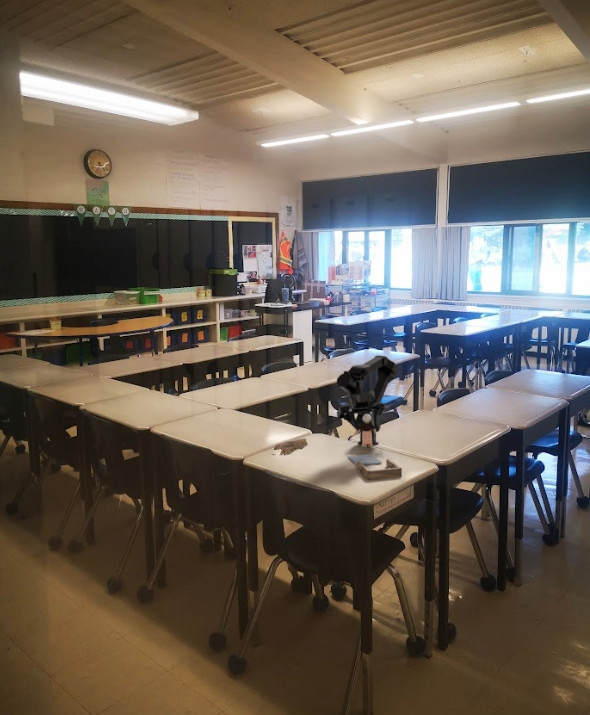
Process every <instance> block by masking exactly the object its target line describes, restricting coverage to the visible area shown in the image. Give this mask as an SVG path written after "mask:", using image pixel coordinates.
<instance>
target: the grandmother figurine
mask: <svg viewBox="0 0 590 715" xmlns="http://www.w3.org/2000/svg"><path fill="white" fill-rule="evenodd" d="M362 419H363V421H364V422H365V424H361V425H360V426H359V428H358V429H359V430H358V431H357V430H356V433H357V434H360V433H361V430H363V432H362V444H360V445H361V447H363V448H367V447H373V446H374V445H373V444H372V433H371V429H373V431H374V433H376V434H377V433H378V432H377V431H376V429H375V427H374V426H373V425H372V424H371V423H369V422H370V420H371V416H370V415H369V414H365V415H364V416H363V418H362ZM366 444H368V446H367V445H366Z"/></svg>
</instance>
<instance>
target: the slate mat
mask: <svg viewBox="0 0 590 715" xmlns="http://www.w3.org/2000/svg"><path fill="white" fill-rule="evenodd" d="M347 458H348V460H350V461H351V462H352V463H353V464H354V465H355V466H357V462H359V461H360V462H361V463H362V464H363V465H364V466H365V467H366V466H373V465H372V464H375V465H382V464H381V463H383V462H382V461H381V460H380V459H378V458H377V457H375V456H374V455H373V454H372V453H370V454H358V455H357V454H356V455H350V456H349V455H348V456H347Z"/></svg>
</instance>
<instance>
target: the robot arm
mask: <svg viewBox="0 0 590 715" xmlns="http://www.w3.org/2000/svg"><path fill="white" fill-rule="evenodd" d="M375 371H376V375H377V380H376V382H375V384H374V388H373V390H371V391H367V392H366V393H365V392H363V387H362V385H361V383H360V382H367V381H368V379H370V377H371V374H373V373H374V372H375ZM398 373H399V367H398V365H397V364H396V362H394V361H393V360H391V359H389V358H388V357H387V356H386V355H378V354H377V355H375V356H374V357H373V358H371V359H369V360H368V361H367V362H365V363H363V364H355V365H352V366H351V367H350V369H348V370H344V371H343V373H342V374H340V375H338V377H337V378H336V384H337V385H338V387H340V388H341V389H342V390H343V391H345V392H346V393H347V394H348V396H349V402H348V403H349V404H348V405H347V404H346V405H339V407H338V409H337V411H336V416H337V419H338V420H339V419H340V420H341V419H343V420H344V421H346V422H347V423H349V424H350V425H351V426H352V427H353V428H354V429H355V430H356V432H357V431H358V430H359V429H358V428H359V426H360V425H361V424H365V422H364V421H363V419H362V418H363V416H364V415H365V414H369V415H370V416H371V420H370V422H369V423H371V424H372V425H373V426H374V427H375V429H376V431H377V433H378V432H380V430H381V423H380V422H379V420H378V419H379V416H381V415H382V414H383V412H384V411H385V410H386V405H385V403H383V402H382V400H383V398H384V394H385V392H386V391H387V390H386V389H387V388H388V386H389V384H390V383H392V381H394V380H395V379H396V376H397V375H398ZM359 381H360V382H359ZM350 404H351V406H350ZM355 414H356V417H355ZM362 432H363V430H360V433H359V438H360V440H359V441H357V444H359V445H362ZM371 433H372V444H373V446H375V445H378V444H379V442H378V441H377V433H374V431H373V429H371ZM366 445H367V447H369V446H368V444H366Z"/></svg>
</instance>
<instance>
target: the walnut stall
mask: <svg viewBox="0 0 590 715" xmlns="http://www.w3.org/2000/svg"><path fill="white" fill-rule="evenodd" d="M385 463H386V464H385V467H386V466H387V467H386V468H381V469H371V470H370V469H369V468H368V467H366V465H365V466H364V465H363V464H362V463H361V462H360V461H359V462H357V465H356V470H357V471H358V472H359V473H360V474H362V476H363V477H365V478H366V479H367V480H368V481H369V480H378V479H388V478H389V477H390V478H398V477H397V476H399V477H403V476H402V475H403V474H402V472H403V468H402V467H401V466H399V465H398V464H397V463H395V462H394V461H392V460H391V459H390V458H386V461H385ZM389 468H390V469H389Z"/></svg>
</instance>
